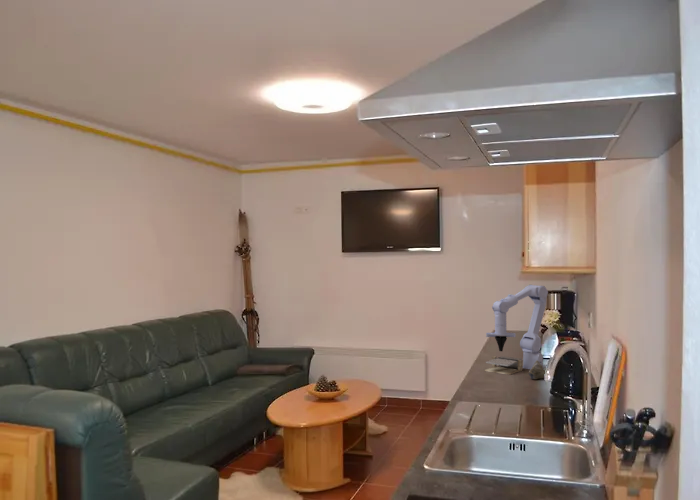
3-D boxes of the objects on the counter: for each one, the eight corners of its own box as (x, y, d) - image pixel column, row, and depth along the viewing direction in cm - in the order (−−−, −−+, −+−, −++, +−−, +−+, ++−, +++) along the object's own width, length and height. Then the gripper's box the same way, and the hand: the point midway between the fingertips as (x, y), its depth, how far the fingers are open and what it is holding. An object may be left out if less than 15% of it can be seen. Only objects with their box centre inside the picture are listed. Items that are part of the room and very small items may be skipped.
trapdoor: (523, 367, 284) (523, 358, 284) (508, 373, 271) (508, 364, 271) (500, 364, 293) (500, 355, 293) (485, 369, 279) (485, 361, 279)
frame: (522, 370, 280) (522, 359, 280) (511, 375, 270) (511, 363, 270) (493, 366, 290) (493, 356, 290) (482, 370, 281) (482, 359, 281)
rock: (539, 358, 267) (553, 375, 262) (531, 365, 271) (544, 382, 266) (527, 362, 260) (541, 380, 255) (519, 369, 263) (532, 387, 258)
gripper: (513, 323, 282) (513, 349, 282) (485, 323, 283) (485, 349, 283) (516, 325, 275) (516, 352, 275) (487, 325, 276) (487, 352, 276)
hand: (500, 351), depth 279 cm, fingers closed
